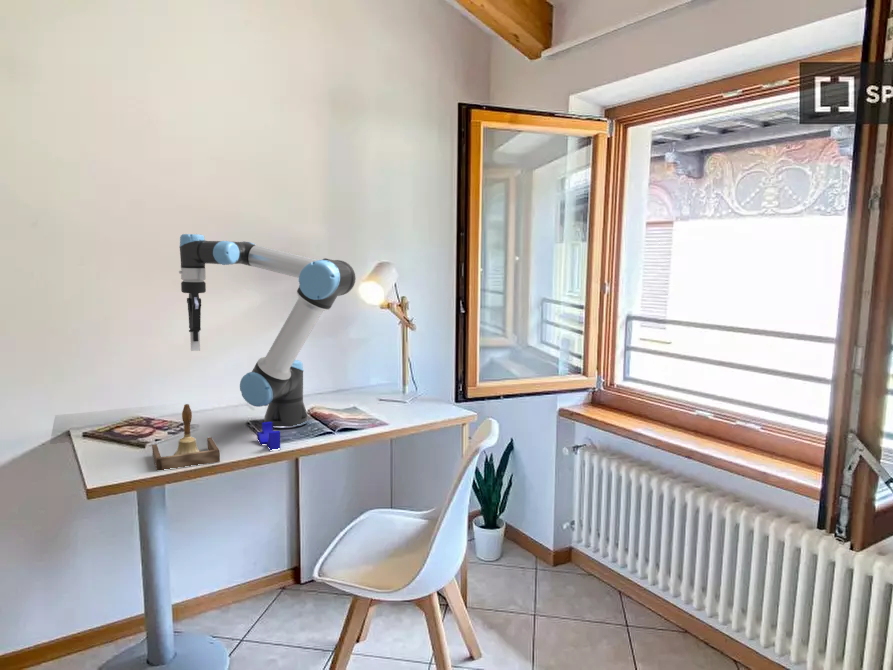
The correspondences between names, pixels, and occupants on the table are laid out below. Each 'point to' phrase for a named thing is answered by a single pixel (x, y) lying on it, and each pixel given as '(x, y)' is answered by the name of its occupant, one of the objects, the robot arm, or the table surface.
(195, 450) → the hand bell
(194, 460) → the walnut corral
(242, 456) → the table surface
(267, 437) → the cable clip
